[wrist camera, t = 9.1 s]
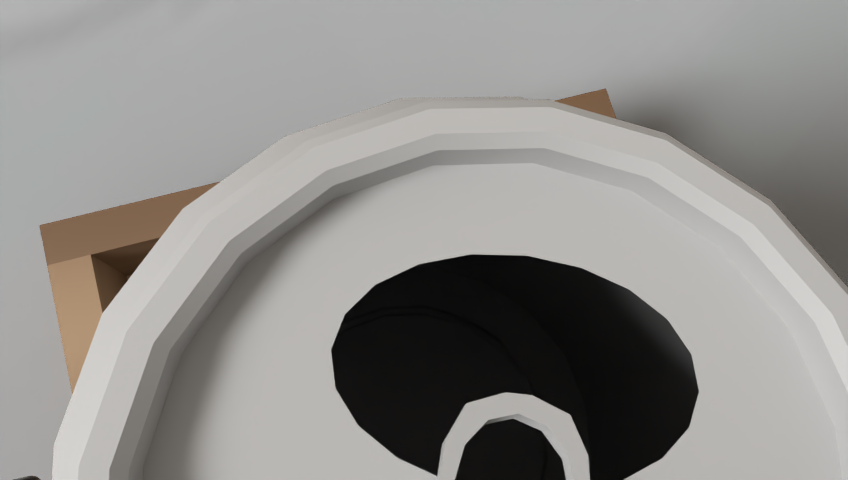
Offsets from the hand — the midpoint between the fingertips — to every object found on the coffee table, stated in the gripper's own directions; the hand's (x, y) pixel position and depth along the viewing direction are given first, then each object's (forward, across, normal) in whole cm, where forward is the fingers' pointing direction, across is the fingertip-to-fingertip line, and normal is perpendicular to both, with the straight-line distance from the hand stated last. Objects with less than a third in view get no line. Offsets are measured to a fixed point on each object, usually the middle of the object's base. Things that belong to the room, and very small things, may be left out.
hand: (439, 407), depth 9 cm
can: (+5, 0, +6) cm, 8 cm away
